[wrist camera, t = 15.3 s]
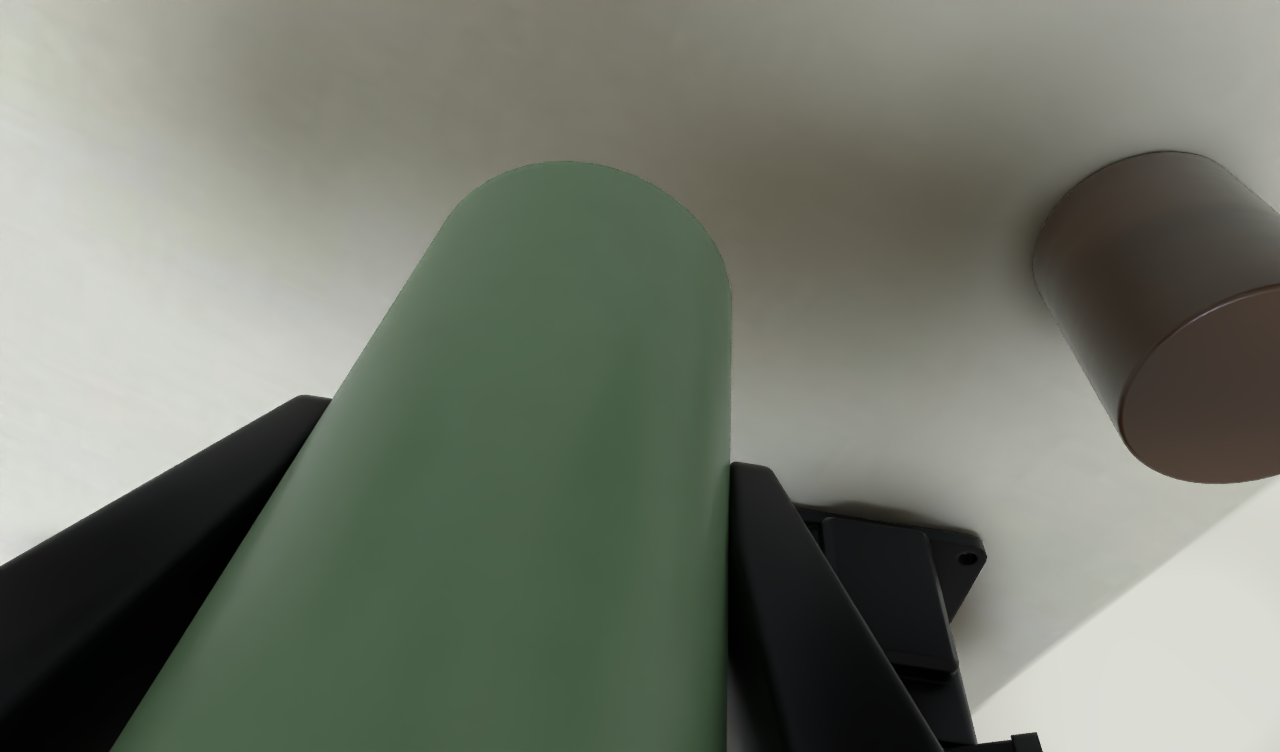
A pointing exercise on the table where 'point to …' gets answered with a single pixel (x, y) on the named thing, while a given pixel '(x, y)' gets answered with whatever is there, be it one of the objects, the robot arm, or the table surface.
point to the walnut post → (1173, 311)
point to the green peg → (495, 506)
